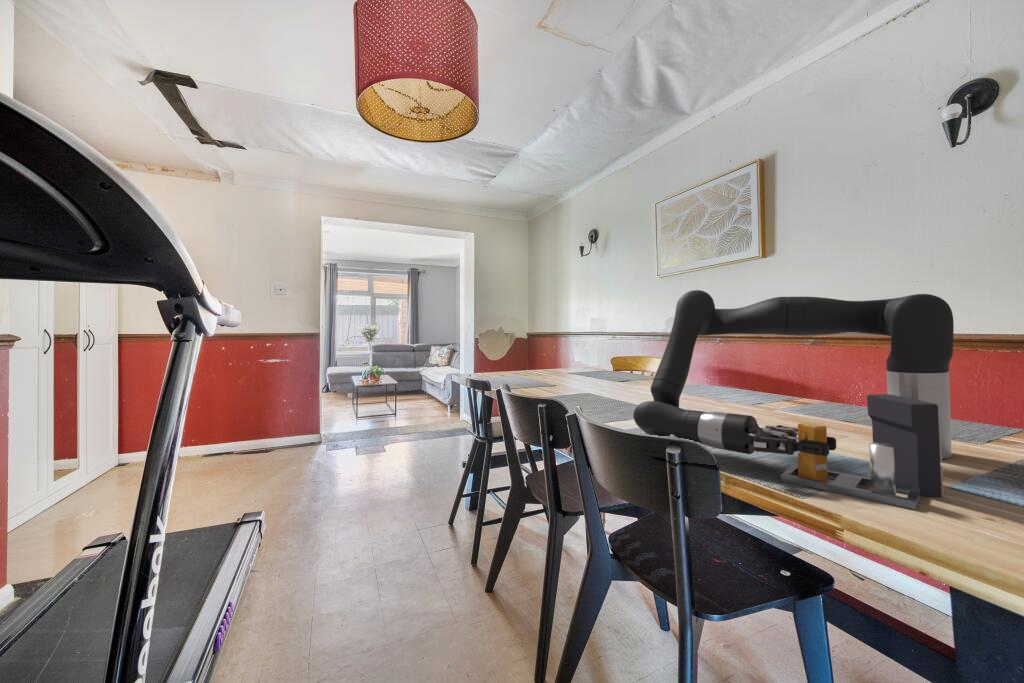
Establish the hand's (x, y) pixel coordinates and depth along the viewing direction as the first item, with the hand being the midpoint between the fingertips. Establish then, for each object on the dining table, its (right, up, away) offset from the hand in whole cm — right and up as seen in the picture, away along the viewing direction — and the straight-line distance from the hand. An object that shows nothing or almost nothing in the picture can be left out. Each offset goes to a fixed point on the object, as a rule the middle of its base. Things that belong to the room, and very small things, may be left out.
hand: (831, 446), depth 69 cm
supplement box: (-2, -7, +2) cm, 7 cm away
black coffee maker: (+12, -7, -1) cm, 14 cm away
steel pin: (+4, -6, -5) cm, 9 cm away
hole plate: (+1, -6, -1) cm, 7 cm away
